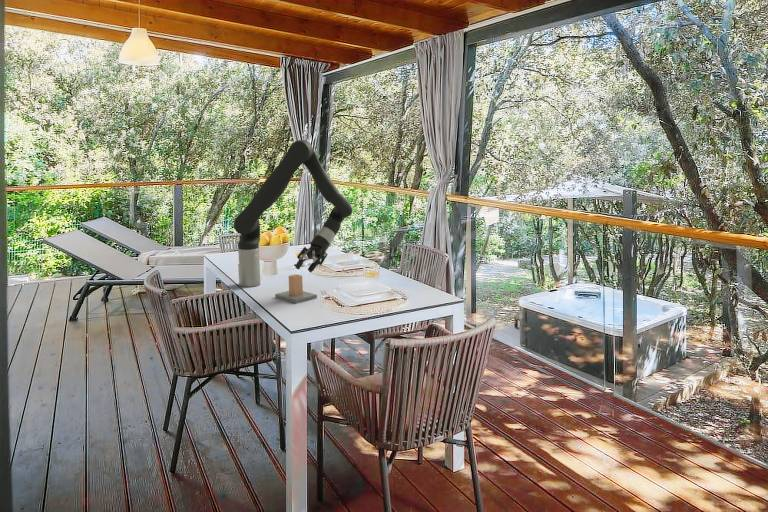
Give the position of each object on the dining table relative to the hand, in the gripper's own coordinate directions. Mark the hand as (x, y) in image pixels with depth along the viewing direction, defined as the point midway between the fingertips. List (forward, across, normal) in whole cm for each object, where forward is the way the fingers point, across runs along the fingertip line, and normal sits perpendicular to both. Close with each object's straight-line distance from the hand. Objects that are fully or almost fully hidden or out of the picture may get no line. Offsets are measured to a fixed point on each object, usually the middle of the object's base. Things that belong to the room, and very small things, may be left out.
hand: (303, 269), depth 230 cm
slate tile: (+11, 0, +5) cm, 12 cm away
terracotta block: (+10, 0, +4) cm, 11 cm away
